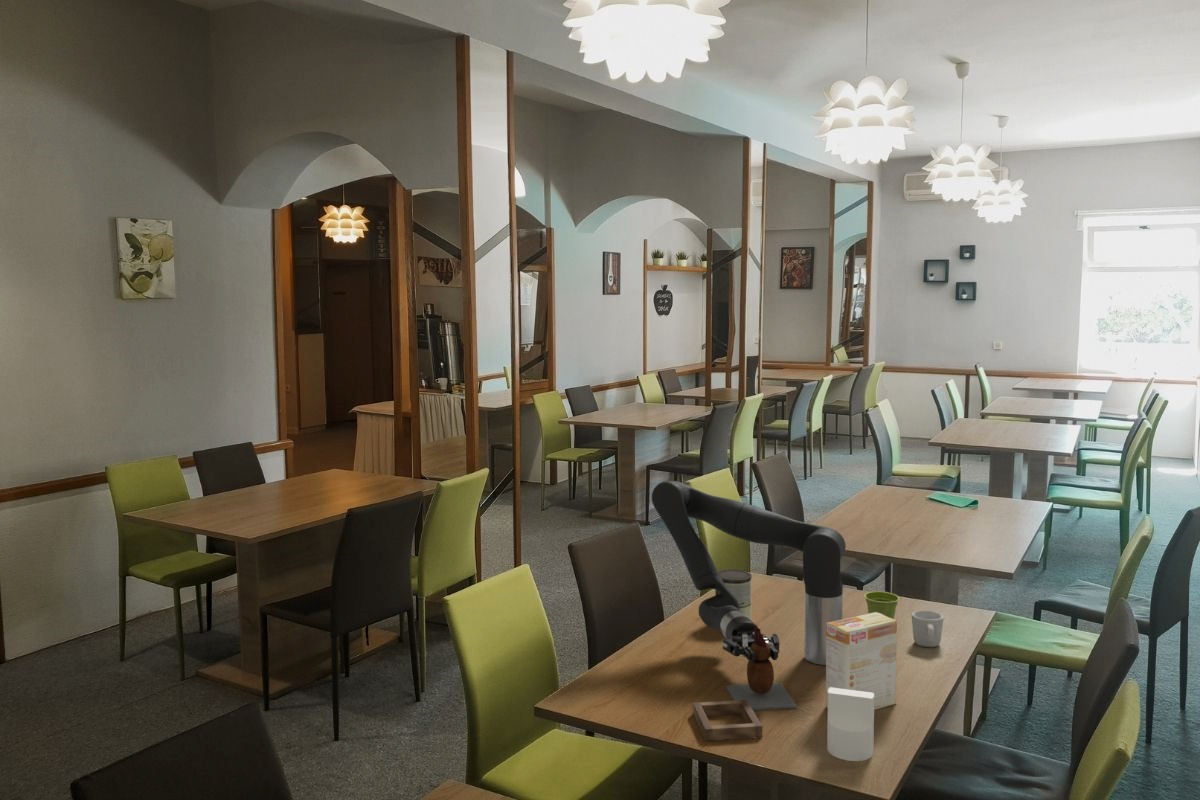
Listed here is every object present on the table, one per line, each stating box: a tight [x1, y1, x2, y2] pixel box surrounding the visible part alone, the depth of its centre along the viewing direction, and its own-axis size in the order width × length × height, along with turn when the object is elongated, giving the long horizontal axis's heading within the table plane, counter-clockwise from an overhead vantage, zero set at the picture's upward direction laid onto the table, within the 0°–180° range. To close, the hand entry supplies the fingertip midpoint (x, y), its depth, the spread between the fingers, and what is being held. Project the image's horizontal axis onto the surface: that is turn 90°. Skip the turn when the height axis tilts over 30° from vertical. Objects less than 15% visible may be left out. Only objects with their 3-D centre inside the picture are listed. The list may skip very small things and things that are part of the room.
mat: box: [726, 682, 798, 711], centre depth 211 cm, size 13×13×1 cm
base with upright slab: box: [826, 687, 875, 762], centre depth 184 cm, size 9×9×12 cm
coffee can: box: [714, 569, 753, 621], centre depth 261 cm, size 10×10×14 cm
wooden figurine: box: [746, 624, 775, 694], centre depth 210 cm, size 7×6×15 cm
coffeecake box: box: [825, 612, 898, 711], centre depth 205 cm, size 15×7×20 cm, turn 117°
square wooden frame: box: [692, 700, 763, 741], centre depth 197 cm, size 12×13×2 cm
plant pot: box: [863, 591, 900, 620], centre depth 256 cm, size 9×9×9 cm
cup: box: [911, 609, 945, 648], centre depth 241 cm, size 11×8×8 cm
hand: (764, 656), depth 207 cm, fingers closed on wooden figurine, 4 cm apart
